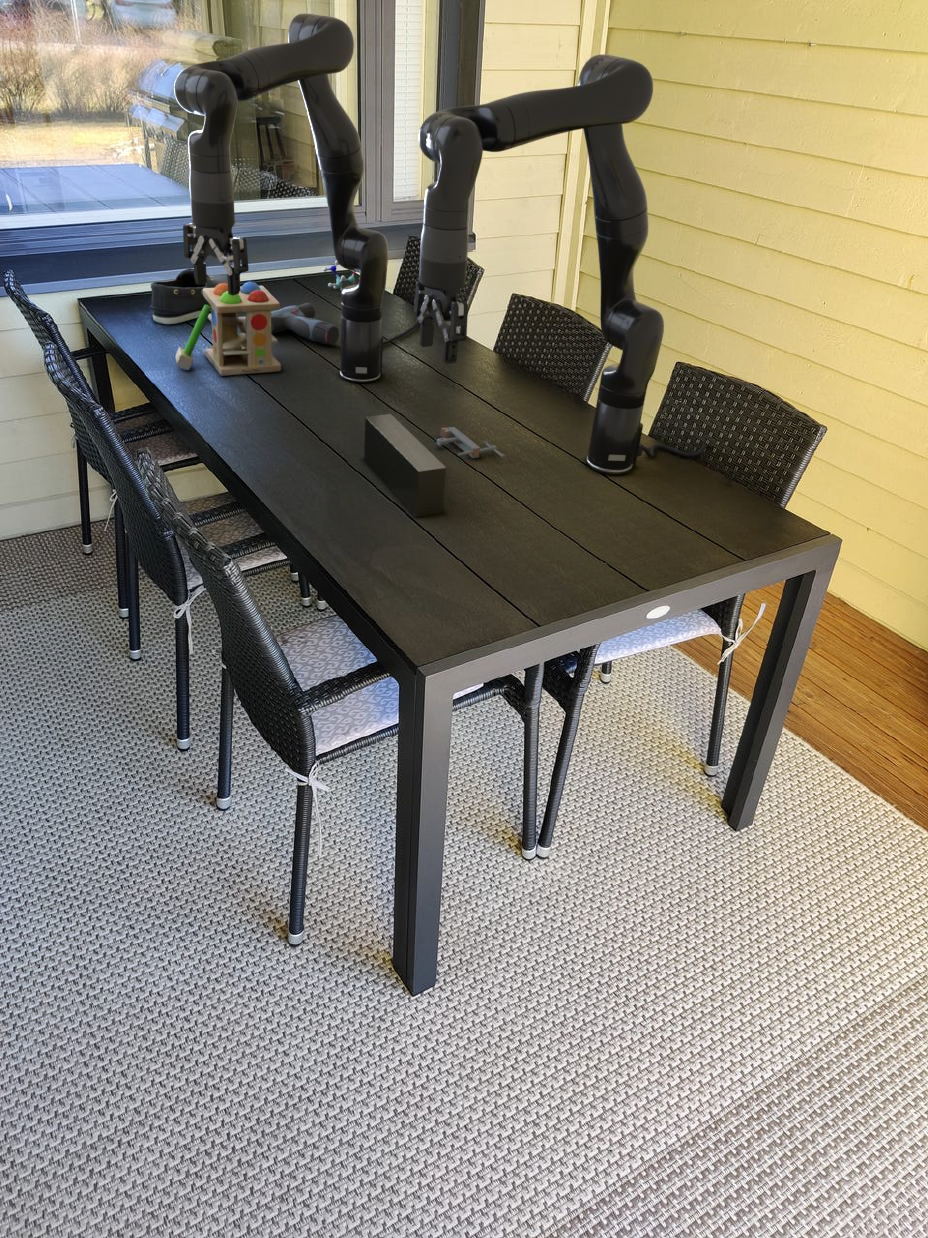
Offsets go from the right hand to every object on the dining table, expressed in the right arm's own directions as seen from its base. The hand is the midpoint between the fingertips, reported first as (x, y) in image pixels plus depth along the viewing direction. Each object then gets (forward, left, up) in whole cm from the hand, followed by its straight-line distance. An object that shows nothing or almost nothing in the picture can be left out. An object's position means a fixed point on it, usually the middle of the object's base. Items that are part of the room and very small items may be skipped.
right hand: (437, 354), depth 164 cm
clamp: (-20, -17, -29) cm, 39 cm away
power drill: (-21, -93, -29) cm, 100 cm away
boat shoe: (-2, -122, -29) cm, 125 cm away
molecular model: (-46, -125, -29) cm, 136 cm away
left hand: (+21, -44, 0) cm, 49 cm away
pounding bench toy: (+7, -80, -29) cm, 85 cm away
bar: (0, -9, -29) cm, 30 cm away
